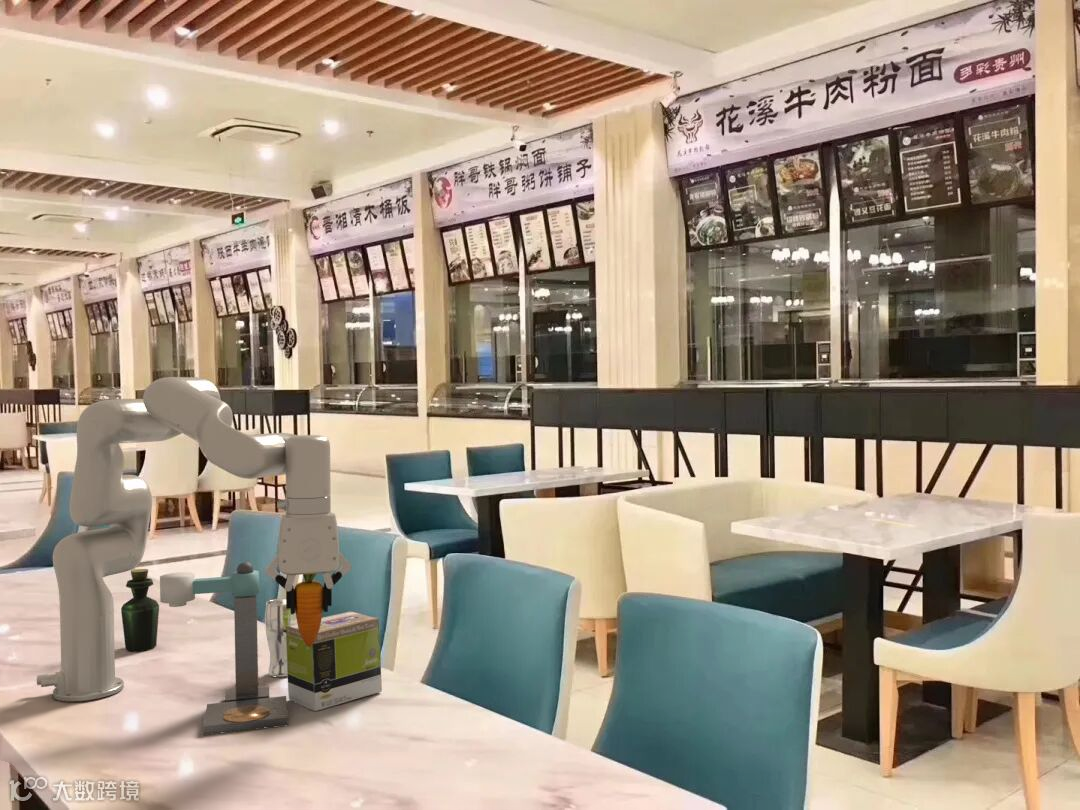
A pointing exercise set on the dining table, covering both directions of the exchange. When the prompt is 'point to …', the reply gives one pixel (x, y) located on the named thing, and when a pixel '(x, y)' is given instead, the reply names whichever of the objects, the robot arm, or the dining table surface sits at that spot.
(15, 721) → the dining table surface
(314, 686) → the tea box
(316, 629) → the carrot
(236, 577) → the press arm
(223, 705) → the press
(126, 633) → the potion bottle
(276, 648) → the beer glass
